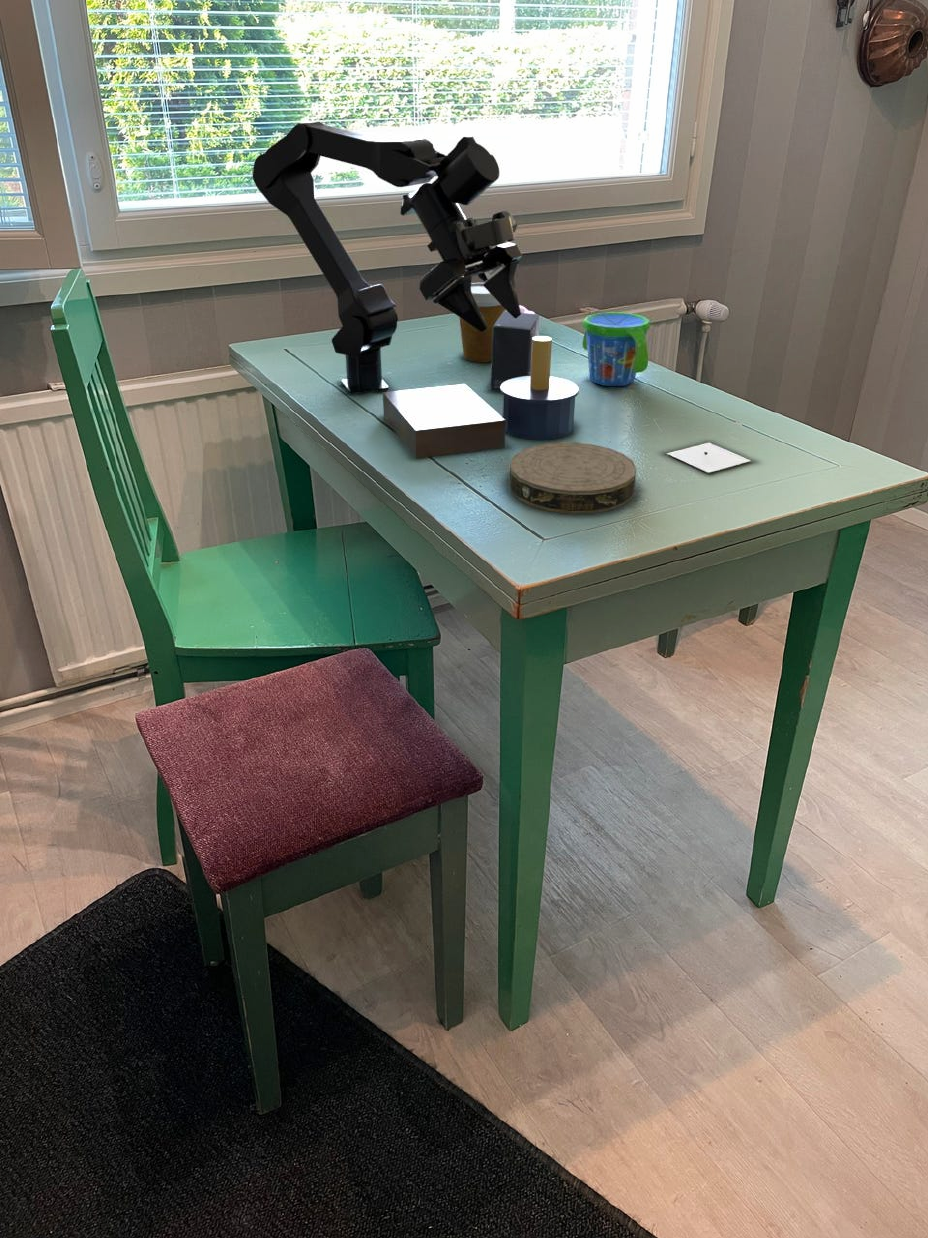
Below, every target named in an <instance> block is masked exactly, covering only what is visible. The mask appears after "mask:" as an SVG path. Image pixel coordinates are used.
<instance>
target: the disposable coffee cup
mask: <svg viewBox="0 0 928 1238" xmlns="http://www.w3.org/2000/svg"><path fill="white" fill-rule="evenodd" d="M484 283H485V282H471V292H472V294H473V297H474V299H475V301H476V303H477V305H478V307H479V309H480V311H481V313H482V315H483V318H484V320H485V323H486V325H487V329H486V330H485V331H483V332H480V331H479V330H477V329H476V328H474V327H473V326H472V325H470V324H469V323H467V322H466V321H465V320H463V319H462V318H460V317H459V316H458V318H459V319H458V320H459V327H460V336H461V345H462V354H463V358H464V359H465V360H467V361H470V362H476V363H488V362H492V333H493V326H494V324H495V323H496V321H497V320H498V319H499V317H500V316H501V315H502V313H503V312H504V311H505V308H504V307H503V306H502V305H501V304H500V303H499V302H498V301H497V300H496V299H495V298H494V297H493V296H492V294H490V292H489V291H488V290H487V289H486V288H485V287H484V286H483V284H484Z"/></svg>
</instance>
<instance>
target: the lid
mask: <svg viewBox="0 0 928 1238" xmlns="http://www.w3.org/2000/svg"><path fill="white" fill-rule="evenodd" d="M552 345H553V338H552V337H550V336H547V335H538V336H535V337H533V338H532V349H531V372H530V376H523V377H517V378H513V379H509V380H507V381H505V382H503V383H502V384H501V387H500V391H499V392H500V393H501V395H503V396H506V397H508V398H510V399H513V400H516V401H521V402H527V403H538V404H547V403H558V402H564V401H568V400H571V399H573V398H575V399H576V397H578V395H579V392H580V388H579V386H578V384H576V383H575V382H573V381H570V380H568V379H565V378H561V377H558V376H551V362H552V347H553V346H552Z"/></svg>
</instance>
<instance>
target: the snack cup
mask: <svg viewBox="0 0 928 1238" xmlns="http://www.w3.org/2000/svg"><path fill="white" fill-rule="evenodd" d="M582 327H583V330H584V334H583V338H582V348H583V349H584V350H585V351H587V362H588V363H587V364H588V365H587V366H588V373H589V374H588V376H589V380H590V381H592V382H593V383H594V384H599V385H602V386H607V387H621V386H622V387H625V386H627V385H630V384H631V383H633V382H634V381H635V380H636V377H637V374H638V373H643V372H644V371H646V370H647V368H648V365H649V355H648V343H647V337H646V335H647V334H648V332H649V330H650V328H651V322H650V320H649V319H648V317H646V316H644V315H639V314H636V313H629V312H617V311H616V312H599V313H594V314H590V315H587V316H586V317H585V318H584V320H583V321H582Z"/></svg>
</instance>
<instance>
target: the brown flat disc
mask: <svg viewBox="0 0 928 1238" xmlns="http://www.w3.org/2000/svg"><path fill="white" fill-rule="evenodd" d="M508 475H509V477H508V480H509V481H508V486H509V490H510V493H511V494H512V495H513V496H514V497H515V498H516V499H517V500H518V501H520V502H522V503H524V504H526V505H528V506H530V507H533V508H536V509H540V510H542V511H548V512H550V513H551V512H552V513H561V514H569V515H576V514H577V515H581V514H582V515H583V514H584V515H585V514H586V515H587V514H596V513H603V512H608V511H612V510H614V509H616V508H619V507H622V506H625V505H626V503H628V502H630V501H631V500H632V499H633V497H634V493H635V487H636V479H637V466H636V464H635V463H634V461H633V459H631V458H630V457H629V456H627V455H625V454H624V453H622V452H620V451H617V450H616V449H612V448H610V447H605V446H601V445H597V444H592V443H585V442H584V443H583V442H573V441H569V442H567V441H565V442H550V443H543V444H535V445H533V446H530V447H527V448H524V449H522V450H520V451H519V452H517V453H515V454H514V455H513V456H512V457H511V460H510V461H509V474H508Z"/></svg>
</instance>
